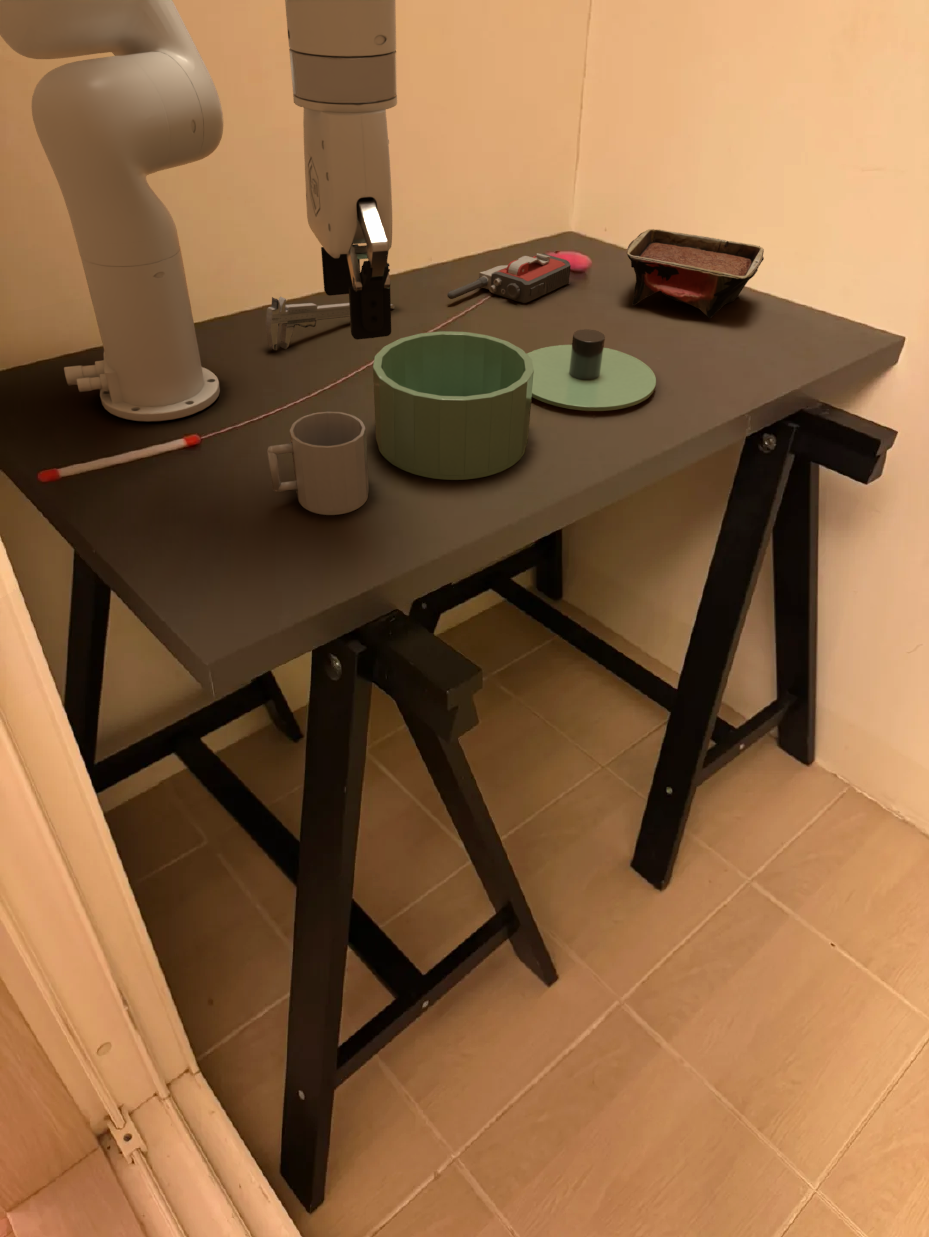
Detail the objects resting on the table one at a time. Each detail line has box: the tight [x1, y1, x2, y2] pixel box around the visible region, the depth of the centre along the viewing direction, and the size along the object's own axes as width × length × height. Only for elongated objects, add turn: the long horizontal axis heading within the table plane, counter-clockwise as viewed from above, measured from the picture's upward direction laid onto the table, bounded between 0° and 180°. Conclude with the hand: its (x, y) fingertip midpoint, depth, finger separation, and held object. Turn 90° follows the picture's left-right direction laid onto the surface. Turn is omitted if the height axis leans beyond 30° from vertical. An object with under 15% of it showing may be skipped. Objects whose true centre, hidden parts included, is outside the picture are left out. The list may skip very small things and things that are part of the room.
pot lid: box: [526, 328, 657, 412], centre depth 100 cm, size 17×17×6 cm
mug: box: [266, 411, 370, 516], centre depth 80 cm, size 9×7×7 cm
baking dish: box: [626, 228, 765, 319], centre depth 121 cm, size 14×18×10 cm
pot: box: [372, 330, 534, 481], centre depth 88 cm, size 16×16×8 cm
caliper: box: [265, 296, 396, 351], centre depth 110 cm, size 20×1×6 cm, turn 138°
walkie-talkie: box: [446, 252, 572, 304], centre depth 122 cm, size 9×4×20 cm
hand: (356, 313), depth 74 cm, fingers open, 9 cm apart
